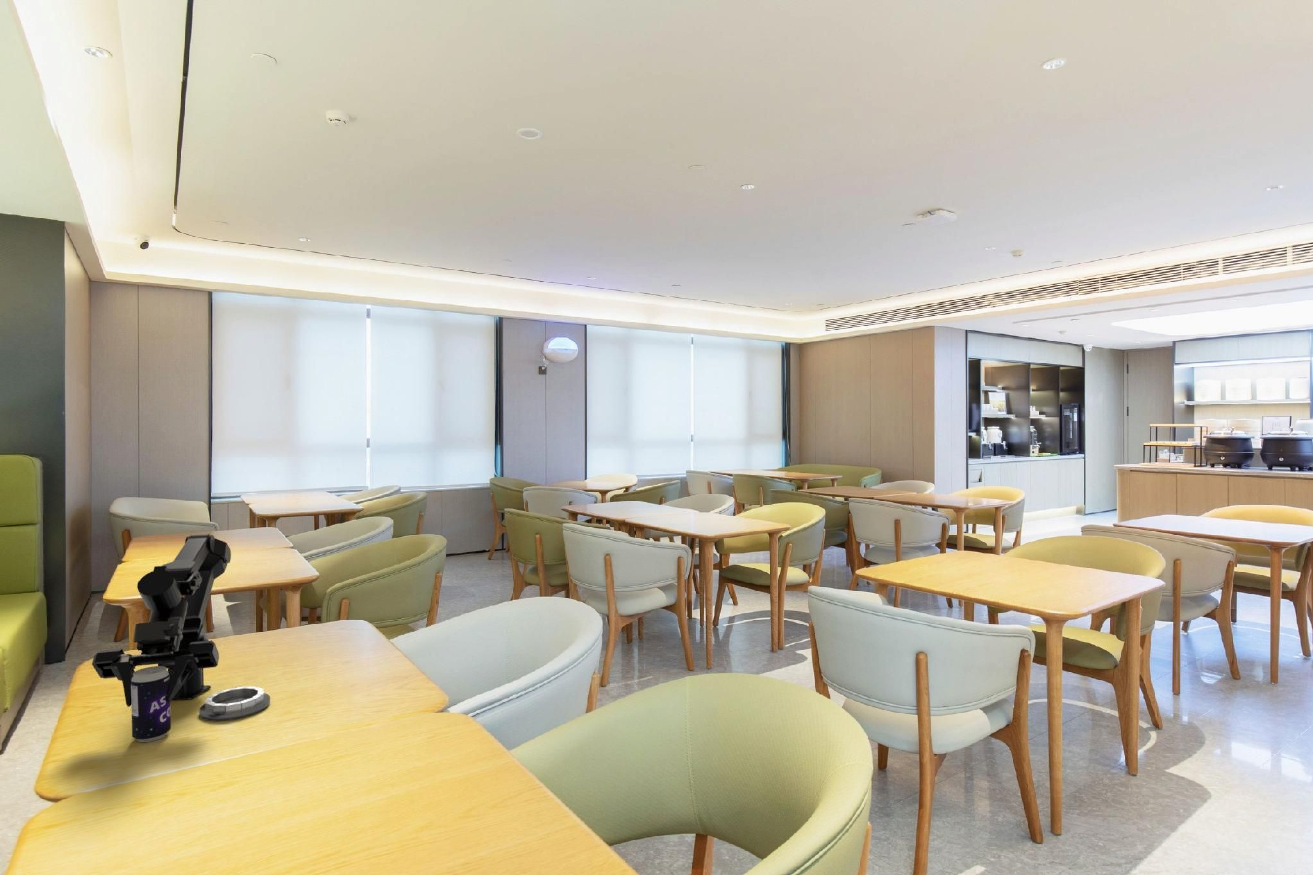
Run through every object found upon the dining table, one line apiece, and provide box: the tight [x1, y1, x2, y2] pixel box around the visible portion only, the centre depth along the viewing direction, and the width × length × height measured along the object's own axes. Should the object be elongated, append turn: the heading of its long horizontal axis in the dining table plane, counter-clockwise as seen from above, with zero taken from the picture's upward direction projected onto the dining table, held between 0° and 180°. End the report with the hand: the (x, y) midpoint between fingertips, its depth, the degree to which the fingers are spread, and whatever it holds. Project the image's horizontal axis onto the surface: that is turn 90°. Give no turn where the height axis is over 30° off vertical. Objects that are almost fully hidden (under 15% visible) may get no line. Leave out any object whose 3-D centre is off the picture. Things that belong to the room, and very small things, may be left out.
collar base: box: [198, 686, 271, 722], centre depth 143 cm, size 12×12×2 cm
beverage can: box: [130, 665, 172, 743], centre depth 130 cm, size 6×6×12 cm
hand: (148, 703), depth 129 cm, fingers closed on beverage can, 6 cm apart
